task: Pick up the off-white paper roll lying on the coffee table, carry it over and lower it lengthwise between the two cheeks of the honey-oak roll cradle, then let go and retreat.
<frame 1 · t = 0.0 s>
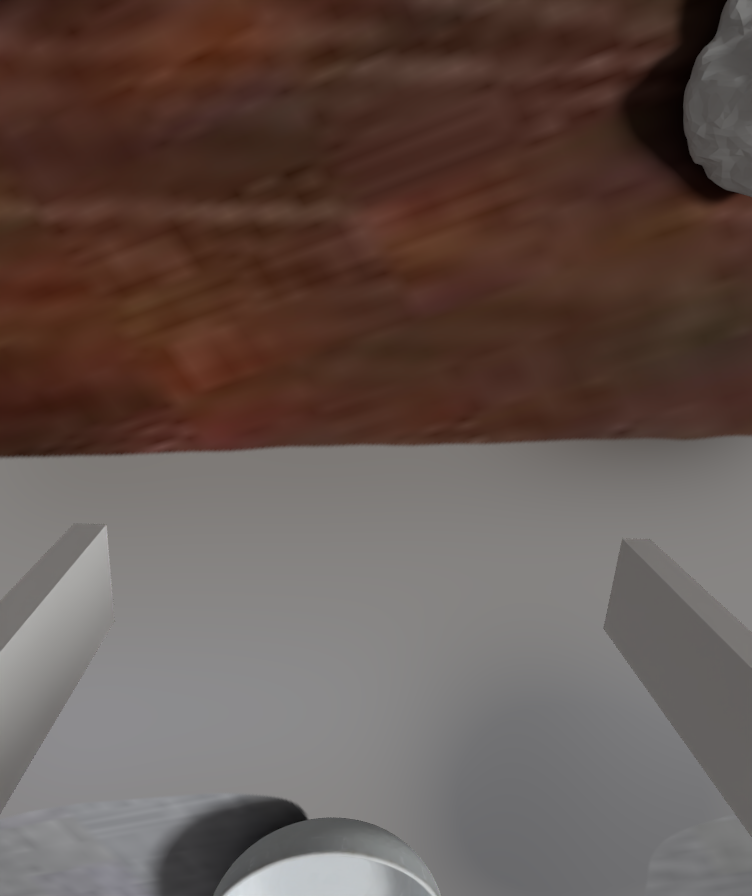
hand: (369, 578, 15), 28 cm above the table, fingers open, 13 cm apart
serving bowl: (327, 864, 57), on the table
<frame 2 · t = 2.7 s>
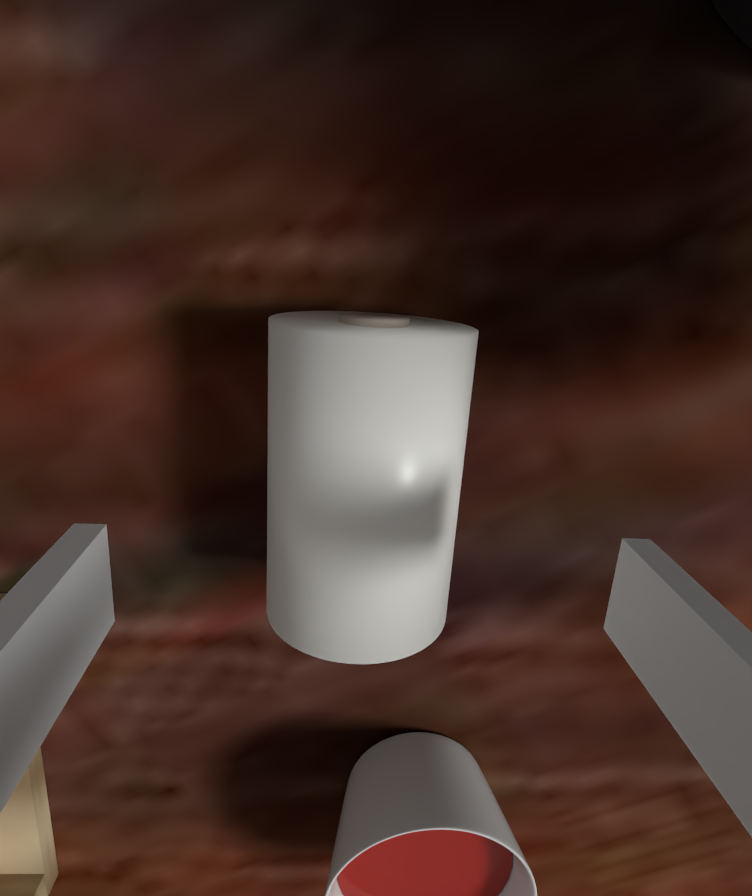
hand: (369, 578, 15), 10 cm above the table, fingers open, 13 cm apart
candle: (413, 778, 31), on the table
paper roll: (364, 475, 22), point 3 cm above the table
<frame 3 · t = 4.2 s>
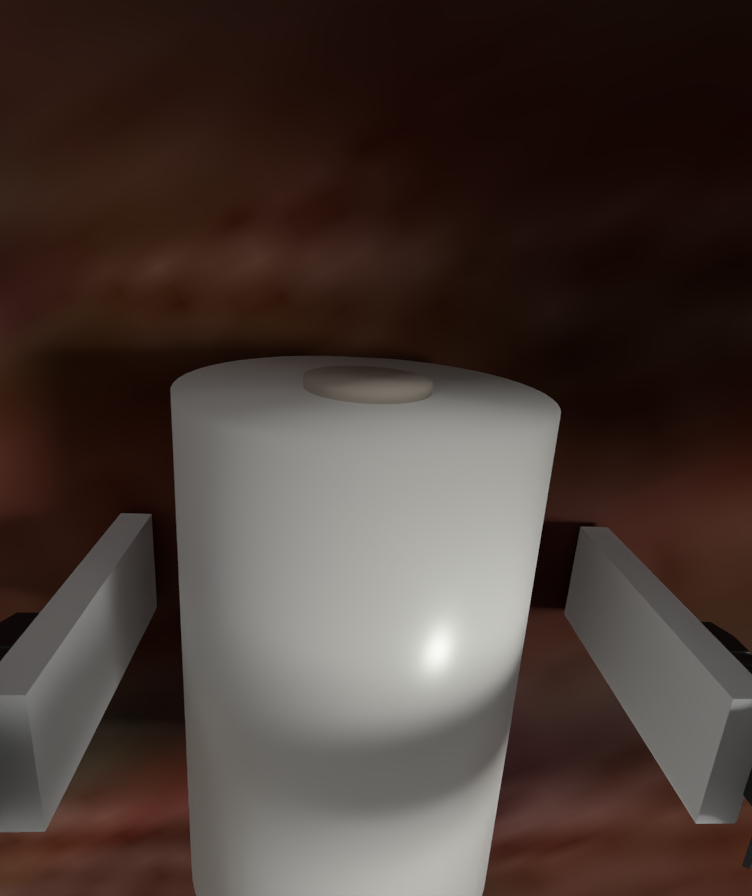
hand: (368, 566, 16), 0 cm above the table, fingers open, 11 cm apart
paper roll: (352, 638, 13), point 3 cm above the table, tilted 10°
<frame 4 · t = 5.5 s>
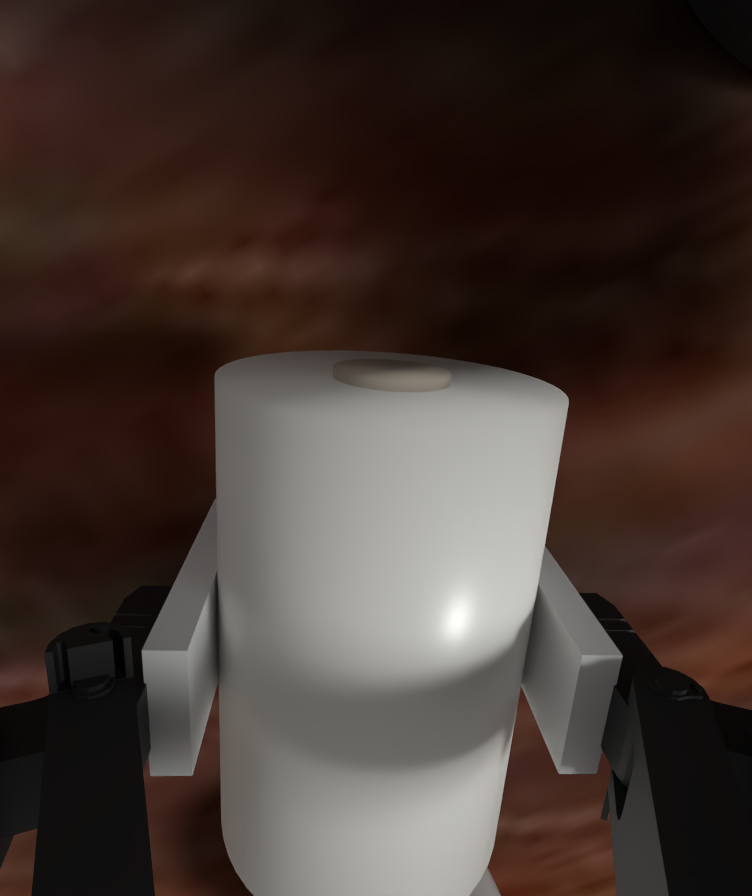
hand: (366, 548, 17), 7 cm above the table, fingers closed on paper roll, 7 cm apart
candle: (390, 825, 29), on the table
paper roll: (373, 612, 14), point 10 cm above the table, tilted 12°, touching gripper
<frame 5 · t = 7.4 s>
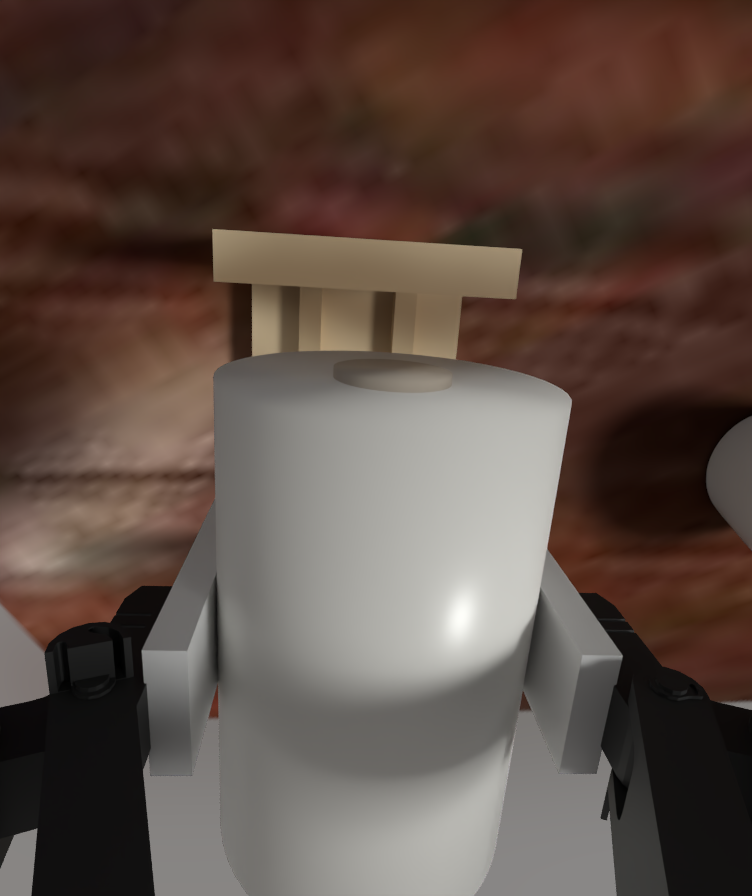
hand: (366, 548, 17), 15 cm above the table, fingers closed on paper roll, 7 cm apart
oak roll cradle: (351, 412, 32), on the table
paper roll: (374, 614, 14), point 19 cm above the table, tilted 10°, touching gripper
when the fingers open (3 cm above the table, at t = 9.7 s): paper roll stays where it is, resting on oak roll cradle.
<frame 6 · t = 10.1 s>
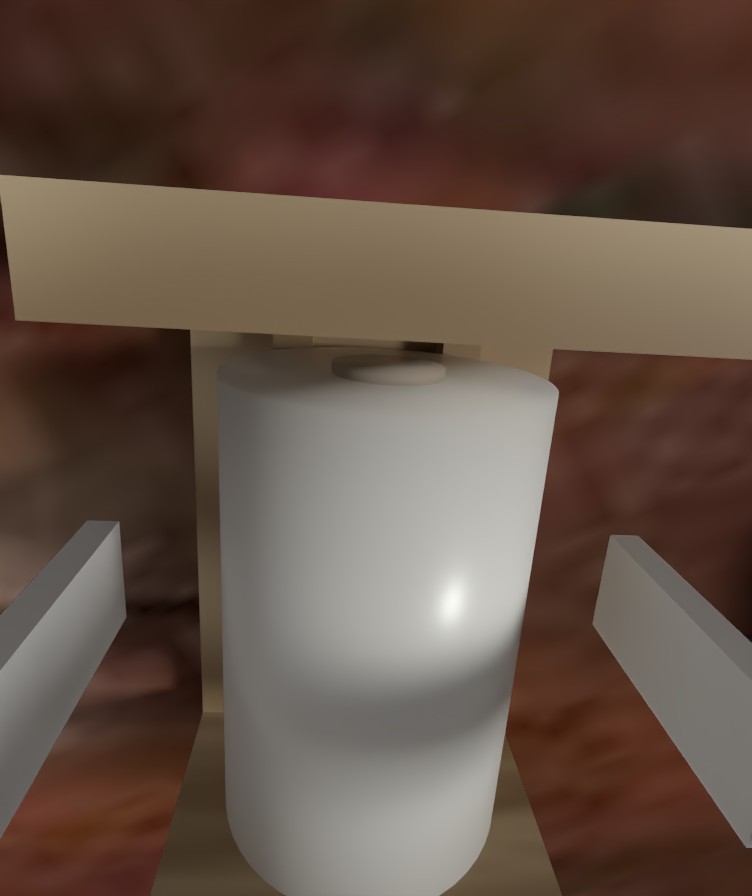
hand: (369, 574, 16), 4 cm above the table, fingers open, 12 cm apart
oak roll cradle: (362, 511, 19), on the table
paper roll: (372, 600, 14), point 5 cm above the table, tilted 10°, touching oak roll cradle
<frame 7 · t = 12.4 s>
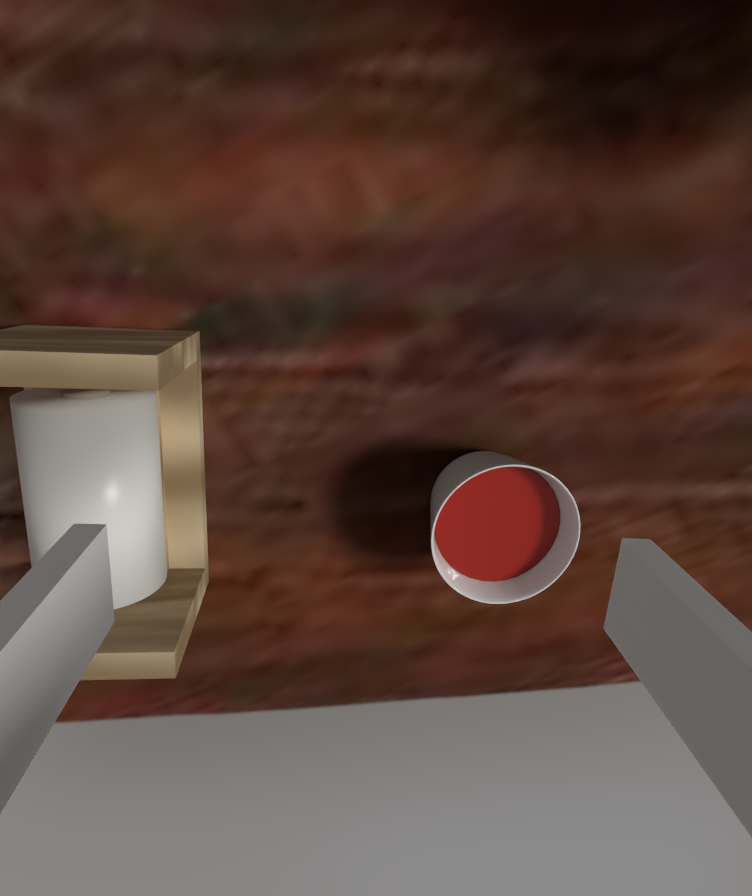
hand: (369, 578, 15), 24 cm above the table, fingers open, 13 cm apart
oak roll cradle: (124, 462, 38), on the table
candle: (478, 495, 42), on the table
paper roll: (95, 491, 33), point 5 cm above the table, tilted 10°, touching oak roll cradle
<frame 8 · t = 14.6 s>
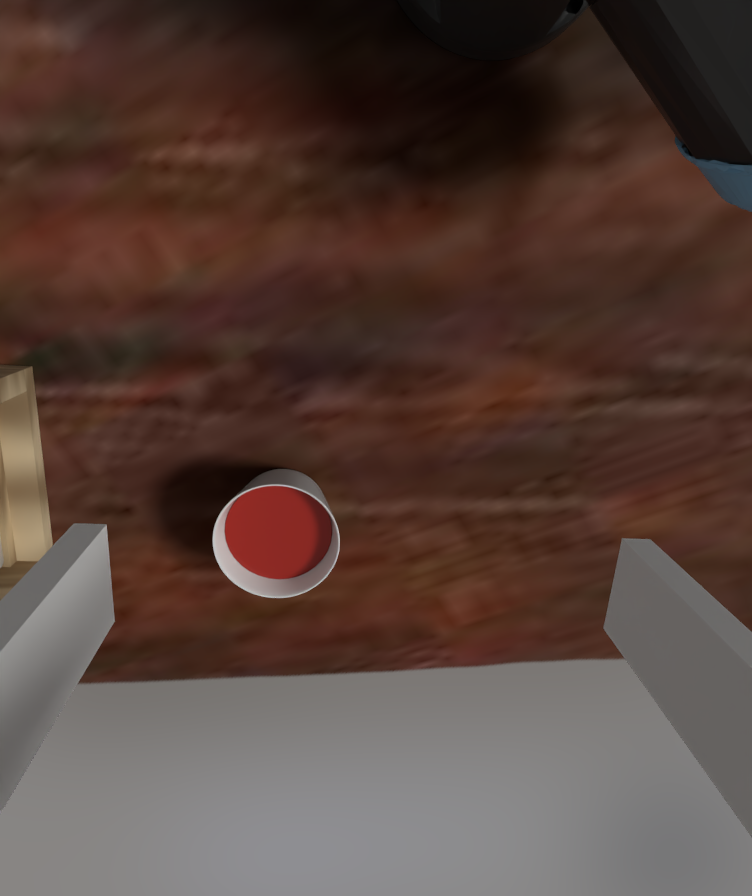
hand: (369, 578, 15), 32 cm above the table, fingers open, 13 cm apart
candle: (284, 506, 49), on the table
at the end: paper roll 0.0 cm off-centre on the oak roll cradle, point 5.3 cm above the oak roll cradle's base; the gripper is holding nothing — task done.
